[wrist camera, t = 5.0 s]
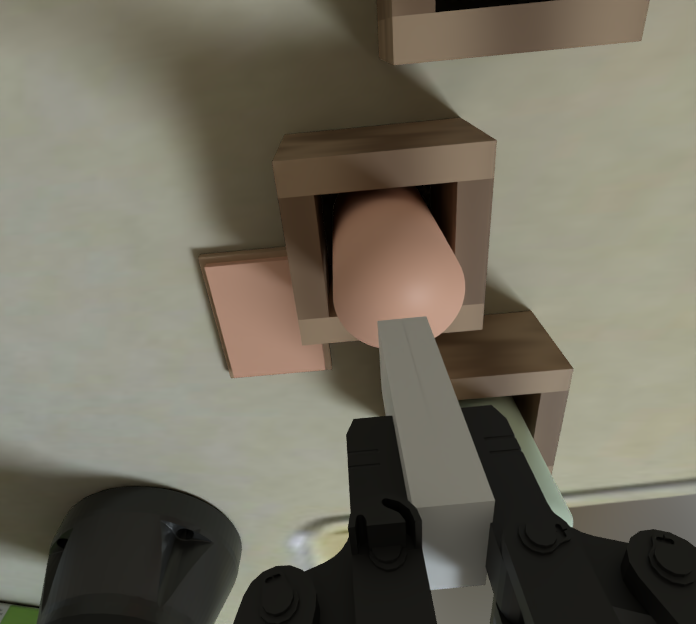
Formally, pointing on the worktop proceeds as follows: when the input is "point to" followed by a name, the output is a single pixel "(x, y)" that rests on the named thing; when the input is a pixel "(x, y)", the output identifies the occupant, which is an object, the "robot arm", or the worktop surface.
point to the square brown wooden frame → (512, 371)
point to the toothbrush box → (18, 614)
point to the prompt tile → (258, 314)
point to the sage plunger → (527, 451)
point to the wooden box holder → (502, 28)
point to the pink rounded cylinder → (391, 263)
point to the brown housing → (379, 173)
